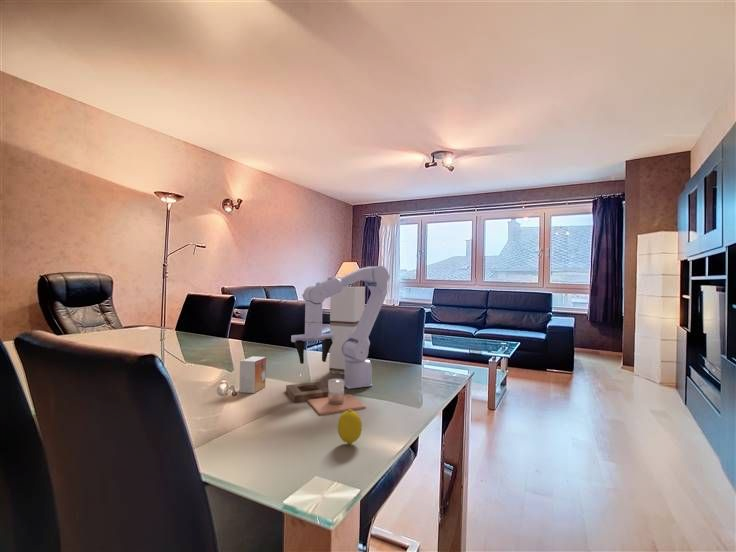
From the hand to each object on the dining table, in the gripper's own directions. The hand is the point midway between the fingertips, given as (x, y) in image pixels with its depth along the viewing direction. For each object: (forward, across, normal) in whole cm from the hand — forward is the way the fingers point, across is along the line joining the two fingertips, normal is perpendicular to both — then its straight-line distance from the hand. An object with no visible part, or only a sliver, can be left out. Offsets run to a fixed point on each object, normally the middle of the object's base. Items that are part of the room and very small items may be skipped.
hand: (312, 362), depth 122 cm
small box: (+10, -18, +10) cm, 23 cm away
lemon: (+10, -3, -41) cm, 42 cm away
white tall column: (+10, +21, +22) cm, 32 cm away
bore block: (+10, -2, -2) cm, 10 cm away
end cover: (+9, +3, -15) cm, 18 cm away
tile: (+10, +3, -15) cm, 18 cm away
